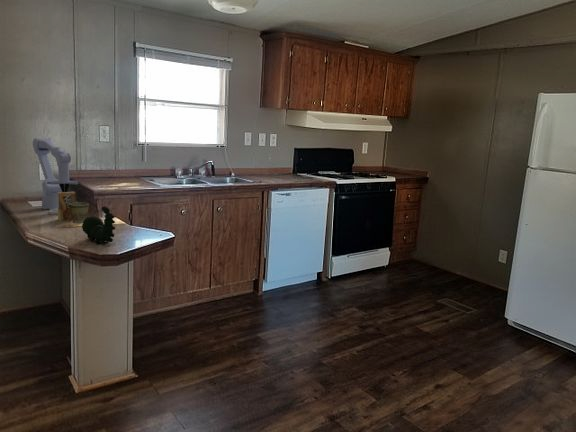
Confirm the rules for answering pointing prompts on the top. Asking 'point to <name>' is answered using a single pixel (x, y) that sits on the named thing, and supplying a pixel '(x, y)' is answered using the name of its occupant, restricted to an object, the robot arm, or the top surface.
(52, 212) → the fader board
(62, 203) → the candy box
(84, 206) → the ceramic cup
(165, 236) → the top surface
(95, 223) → the toy figurine
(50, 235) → the top surface
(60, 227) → the top surface
